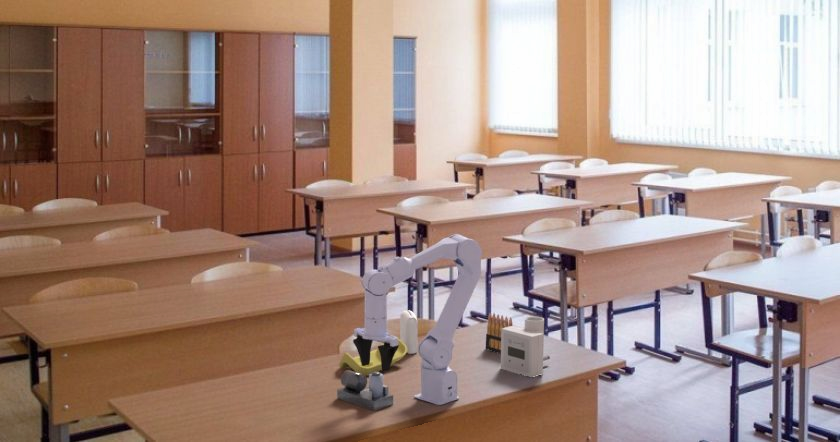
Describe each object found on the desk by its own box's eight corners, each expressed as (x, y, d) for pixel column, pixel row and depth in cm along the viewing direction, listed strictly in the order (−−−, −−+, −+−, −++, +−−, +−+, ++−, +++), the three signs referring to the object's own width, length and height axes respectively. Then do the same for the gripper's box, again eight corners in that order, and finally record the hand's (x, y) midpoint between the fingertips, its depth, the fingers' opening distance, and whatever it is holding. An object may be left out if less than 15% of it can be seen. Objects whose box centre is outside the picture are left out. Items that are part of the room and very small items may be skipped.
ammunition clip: (485, 349, 312) (485, 312, 310) (489, 348, 313) (490, 311, 311) (510, 356, 304) (510, 318, 302) (514, 355, 305) (515, 317, 303)
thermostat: (500, 368, 291) (501, 319, 289) (532, 360, 300) (534, 311, 298) (531, 378, 282) (532, 326, 280) (563, 369, 291) (565, 319, 289)
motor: (393, 404, 258) (393, 378, 257) (373, 410, 253) (373, 384, 252) (354, 391, 269) (354, 367, 268) (334, 397, 264) (334, 372, 263)
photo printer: (398, 345, 315) (398, 307, 313) (411, 345, 316) (412, 307, 314) (405, 354, 305) (405, 315, 303) (418, 353, 306) (419, 314, 304)
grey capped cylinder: (385, 395, 258) (385, 372, 257) (377, 398, 255) (377, 375, 254) (374, 392, 260) (374, 369, 259) (366, 395, 257) (366, 373, 256)
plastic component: (364, 370, 281) (342, 349, 286) (357, 390, 284) (336, 368, 290) (413, 352, 294) (392, 332, 300) (407, 370, 298) (385, 351, 303)
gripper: (345, 314, 257) (345, 365, 259) (384, 324, 247) (384, 377, 249) (365, 310, 262) (365, 360, 264) (404, 319, 252) (403, 371, 254)
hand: (375, 368), depth 257 cm, fingers open, 7 cm apart
